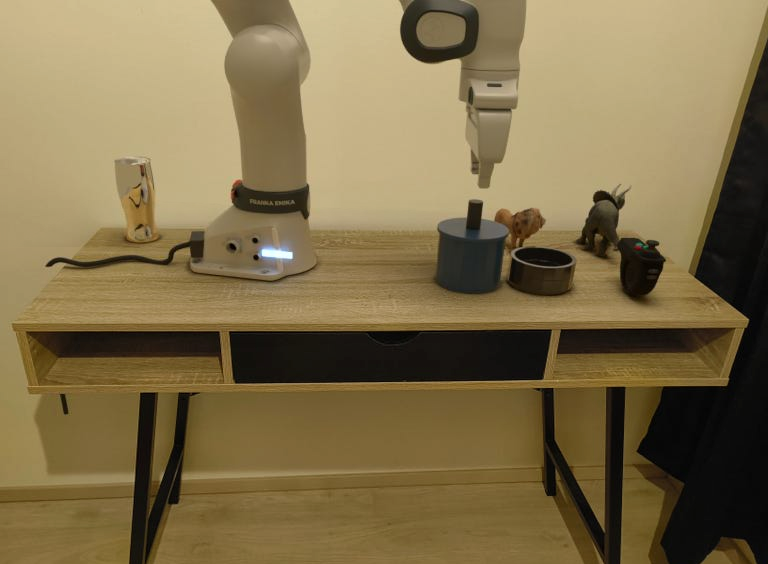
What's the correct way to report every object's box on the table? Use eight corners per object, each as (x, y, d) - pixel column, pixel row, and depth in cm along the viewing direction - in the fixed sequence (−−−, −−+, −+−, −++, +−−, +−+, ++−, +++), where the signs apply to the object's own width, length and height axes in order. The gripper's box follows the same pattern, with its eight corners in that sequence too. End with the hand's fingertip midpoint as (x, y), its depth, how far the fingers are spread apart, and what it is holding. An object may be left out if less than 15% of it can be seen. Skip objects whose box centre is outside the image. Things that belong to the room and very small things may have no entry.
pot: (438, 292, 114) (442, 240, 109) (433, 268, 123) (437, 220, 119) (503, 294, 114) (510, 243, 109) (494, 271, 123) (500, 222, 119)
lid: (439, 244, 109) (442, 210, 106) (434, 222, 120) (436, 190, 117) (513, 247, 109) (518, 212, 106) (502, 225, 120) (506, 193, 117)
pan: (512, 294, 114) (516, 266, 111) (502, 271, 123) (506, 245, 121) (578, 297, 114) (583, 269, 111) (563, 273, 123) (567, 247, 121)
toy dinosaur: (615, 270, 126) (628, 210, 120) (569, 263, 128) (579, 204, 123) (620, 236, 144) (631, 183, 139) (579, 231, 146) (588, 178, 141)
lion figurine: (544, 254, 132) (552, 209, 128) (525, 259, 130) (532, 212, 125) (492, 233, 143) (498, 191, 139) (473, 237, 140) (478, 194, 136)
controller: (632, 305, 111) (646, 247, 106) (606, 278, 122) (618, 223, 117) (658, 306, 111) (673, 247, 107) (630, 278, 122) (642, 224, 117)
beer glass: (133, 231, 137) (123, 155, 130) (166, 233, 136) (158, 157, 129) (118, 242, 131) (106, 162, 124) (152, 244, 130) (142, 165, 123)
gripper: (460, 81, 113) (454, 165, 119) (475, 97, 95) (466, 195, 101) (498, 81, 113) (490, 166, 119) (520, 98, 95) (509, 196, 101)
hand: (479, 180), depth 110 cm, fingers open, 8 cm apart
